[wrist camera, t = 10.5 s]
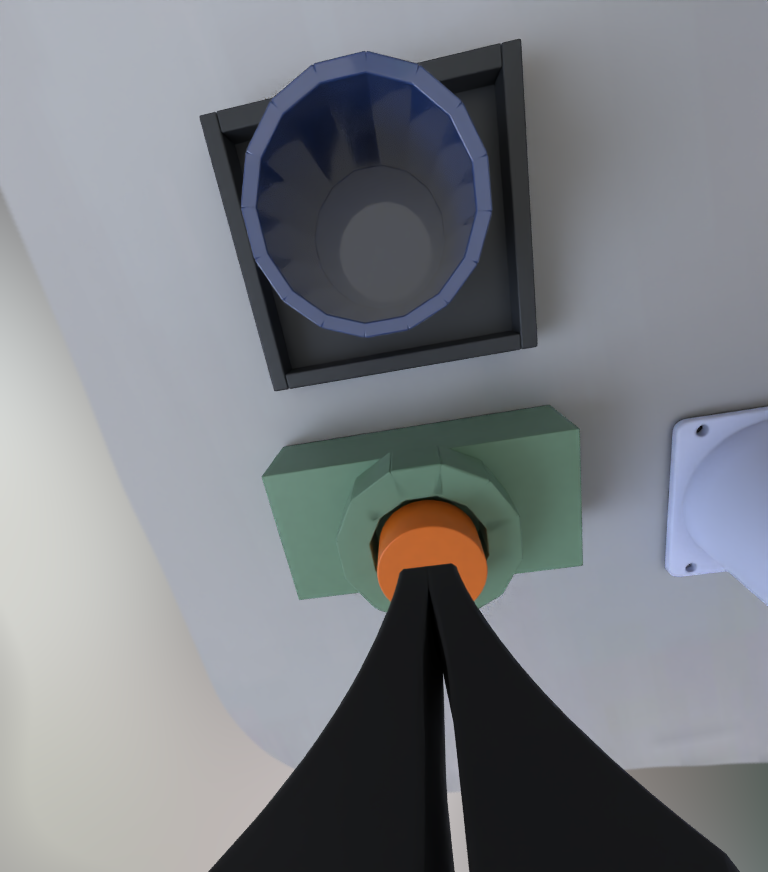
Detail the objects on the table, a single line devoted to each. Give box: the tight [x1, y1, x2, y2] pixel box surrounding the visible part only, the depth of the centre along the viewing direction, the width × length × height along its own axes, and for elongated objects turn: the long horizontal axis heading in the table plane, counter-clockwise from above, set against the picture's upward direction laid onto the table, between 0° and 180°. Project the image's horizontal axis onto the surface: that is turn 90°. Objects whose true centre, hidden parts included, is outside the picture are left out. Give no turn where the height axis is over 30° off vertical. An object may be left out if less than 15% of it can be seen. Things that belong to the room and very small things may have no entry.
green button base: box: [262, 405, 583, 612], centre depth 17 cm, size 12×6×5 cm, turn 100°
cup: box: [241, 51, 493, 338], centre depth 12 cm, size 5×5×7 cm
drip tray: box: [200, 39, 538, 391], centre depth 15 cm, size 10×9×2 cm
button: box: [377, 500, 488, 602], centre depth 14 cm, size 4×4×2 cm
